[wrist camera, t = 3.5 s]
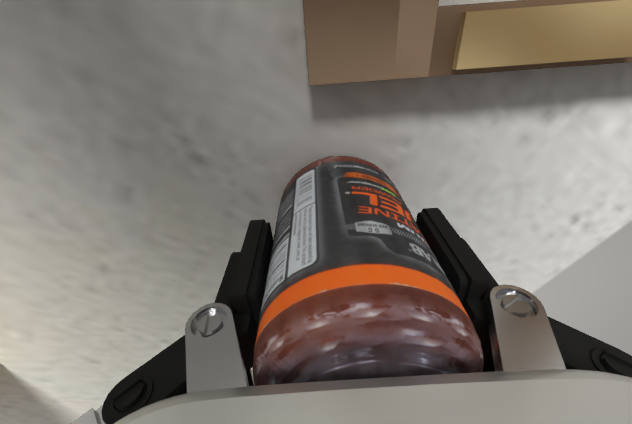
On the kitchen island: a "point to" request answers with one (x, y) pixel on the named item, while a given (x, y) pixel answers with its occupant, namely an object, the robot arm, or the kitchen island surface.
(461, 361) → the supplement bottle
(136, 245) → the kitchen island surface
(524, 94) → the kitchen island surface
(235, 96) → the kitchen island surface
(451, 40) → the wooden frame
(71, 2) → the kitchen island surface
